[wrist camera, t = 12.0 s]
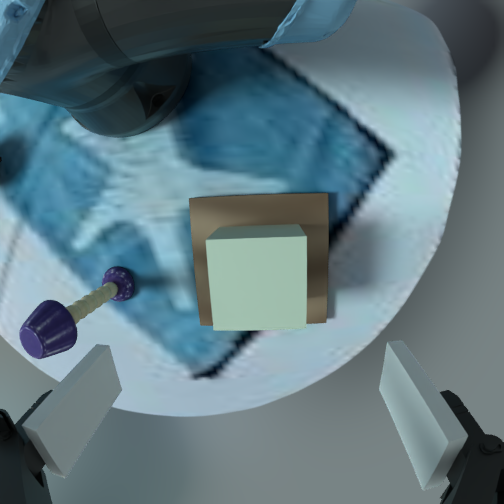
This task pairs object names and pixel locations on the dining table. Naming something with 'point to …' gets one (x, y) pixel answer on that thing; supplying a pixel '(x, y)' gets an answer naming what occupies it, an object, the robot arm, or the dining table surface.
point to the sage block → (258, 277)
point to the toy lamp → (70, 316)
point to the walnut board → (264, 213)
